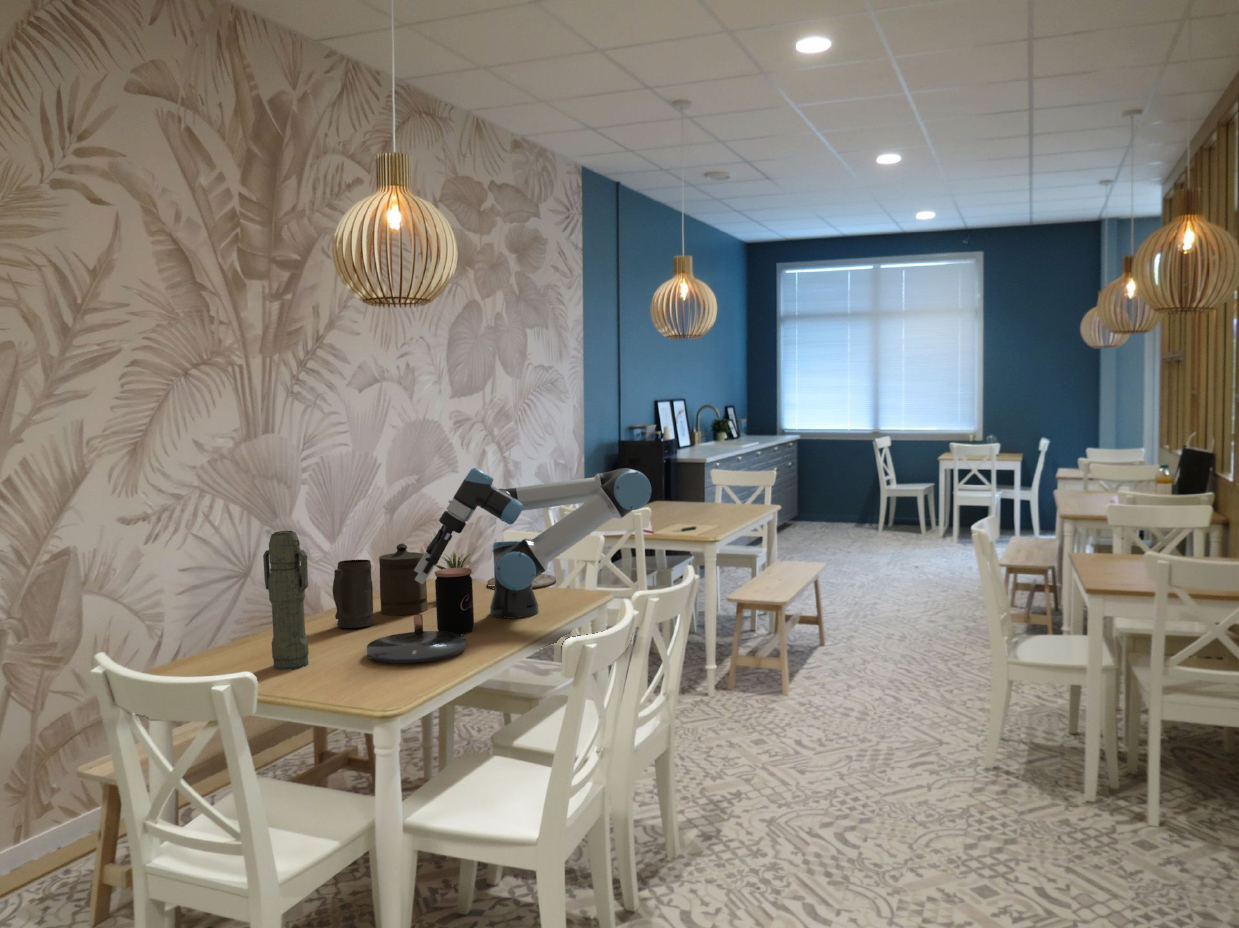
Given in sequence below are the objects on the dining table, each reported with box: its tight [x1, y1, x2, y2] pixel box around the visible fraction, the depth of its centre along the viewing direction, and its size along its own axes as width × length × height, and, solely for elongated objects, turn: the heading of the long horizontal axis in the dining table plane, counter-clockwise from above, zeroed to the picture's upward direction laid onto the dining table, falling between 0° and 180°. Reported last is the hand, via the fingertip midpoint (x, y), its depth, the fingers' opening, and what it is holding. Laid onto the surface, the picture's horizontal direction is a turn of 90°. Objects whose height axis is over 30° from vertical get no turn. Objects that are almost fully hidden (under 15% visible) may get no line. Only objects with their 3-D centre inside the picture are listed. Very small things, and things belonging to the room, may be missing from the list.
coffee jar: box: [434, 567, 475, 635], centre depth 288 cm, size 11×11×18 cm
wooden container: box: [378, 543, 428, 616], centre depth 319 cm, size 15×15×22 cm
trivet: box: [487, 573, 557, 590], centre depth 361 cm, size 25×25×2 cm
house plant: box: [434, 552, 475, 570], centre depth 339 cm, size 14×14×16 cm
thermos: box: [262, 530, 309, 671], centre depth 255 cm, size 9×12×35 cm
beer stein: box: [332, 559, 374, 629], centre depth 298 cm, size 15×11×20 cm
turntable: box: [366, 613, 467, 664], centre depth 264 cm, size 26×26×7 cm
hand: (418, 577), depth 292 cm, fingers open, 13 cm apart
